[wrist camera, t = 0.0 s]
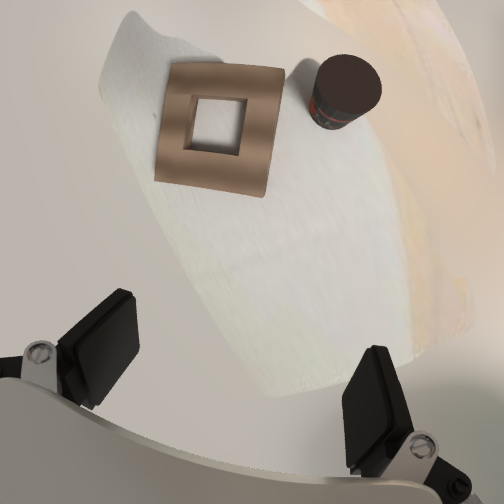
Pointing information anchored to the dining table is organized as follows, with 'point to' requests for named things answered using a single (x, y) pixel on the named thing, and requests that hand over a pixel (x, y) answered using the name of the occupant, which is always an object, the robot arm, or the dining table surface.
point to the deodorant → (344, 91)
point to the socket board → (253, 135)
